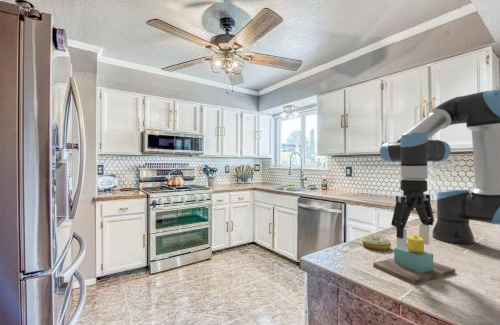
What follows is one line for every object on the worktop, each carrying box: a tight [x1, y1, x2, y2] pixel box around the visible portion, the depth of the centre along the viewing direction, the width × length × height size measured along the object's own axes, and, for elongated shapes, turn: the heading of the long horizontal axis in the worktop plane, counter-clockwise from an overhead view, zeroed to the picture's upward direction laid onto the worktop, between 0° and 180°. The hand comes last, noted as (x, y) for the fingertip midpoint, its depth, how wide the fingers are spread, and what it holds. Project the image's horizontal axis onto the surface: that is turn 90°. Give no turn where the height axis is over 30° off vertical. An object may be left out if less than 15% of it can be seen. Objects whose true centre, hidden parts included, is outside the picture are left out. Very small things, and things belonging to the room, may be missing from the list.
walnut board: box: [372, 257, 456, 285], centre depth 84 cm, size 20×14×1 cm
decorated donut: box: [361, 235, 392, 252], centre depth 106 cm, size 10×11×4 cm
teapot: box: [406, 235, 425, 254], centre depth 83 cm, size 8×6×5 cm
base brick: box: [393, 246, 434, 273], centre depth 84 cm, size 6×9×5 cm, turn 23°
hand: (413, 245), depth 83 cm, fingers open, 10 cm apart
